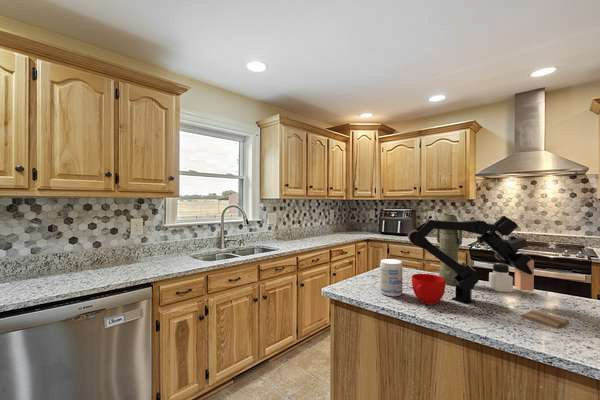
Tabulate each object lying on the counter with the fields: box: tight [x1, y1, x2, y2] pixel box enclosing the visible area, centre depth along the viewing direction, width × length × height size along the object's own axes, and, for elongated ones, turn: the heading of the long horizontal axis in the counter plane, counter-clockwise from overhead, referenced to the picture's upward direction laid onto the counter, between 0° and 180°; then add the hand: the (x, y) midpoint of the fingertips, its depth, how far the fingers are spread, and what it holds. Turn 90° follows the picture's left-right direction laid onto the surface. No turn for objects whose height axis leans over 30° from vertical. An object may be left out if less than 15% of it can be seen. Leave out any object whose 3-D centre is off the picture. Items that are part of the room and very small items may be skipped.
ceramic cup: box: [411, 273, 446, 305], centre depth 116 cm, size 13×17×10 cm
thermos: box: [436, 214, 463, 287], centre depth 143 cm, size 9×12×35 cm
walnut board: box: [520, 309, 570, 329], centre depth 100 cm, size 10×10×1 cm
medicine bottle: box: [488, 263, 514, 293], centre depth 133 cm, size 7×7×12 cm
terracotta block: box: [514, 259, 535, 292], centre depth 113 cm, size 4×4×12 cm
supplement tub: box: [379, 258, 403, 297], centre depth 127 cm, size 10×10×15 cm
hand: (528, 272), depth 112 cm, fingers closed on terracotta block, 4 cm apart
